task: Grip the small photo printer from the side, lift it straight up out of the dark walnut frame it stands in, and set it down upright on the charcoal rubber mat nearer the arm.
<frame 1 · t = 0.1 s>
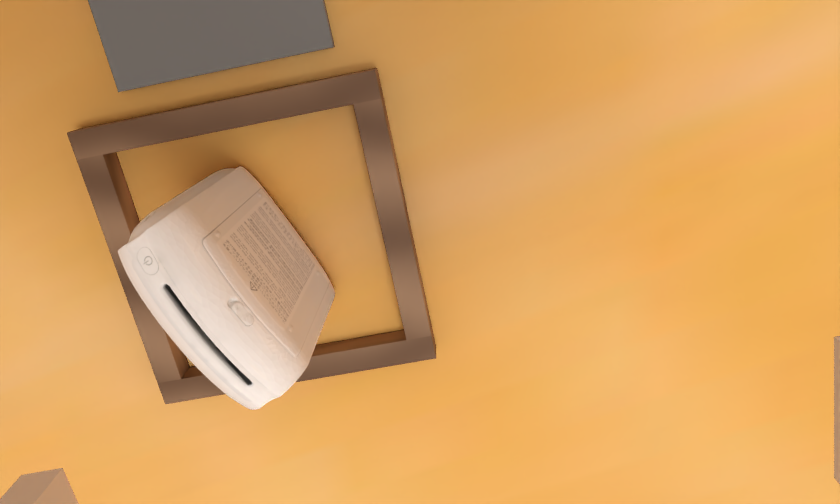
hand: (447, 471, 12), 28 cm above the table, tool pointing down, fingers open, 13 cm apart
walnut frame: (267, 243, 40), on the table
photo printer: (268, 241, 40), resting in walnut frame
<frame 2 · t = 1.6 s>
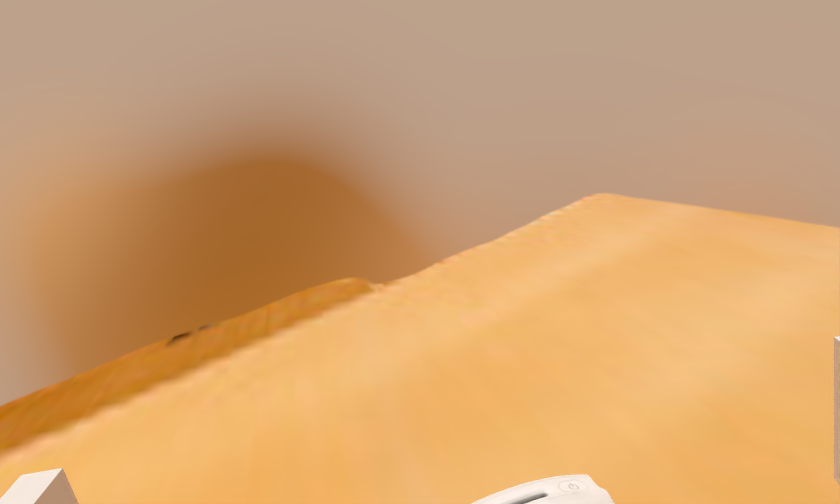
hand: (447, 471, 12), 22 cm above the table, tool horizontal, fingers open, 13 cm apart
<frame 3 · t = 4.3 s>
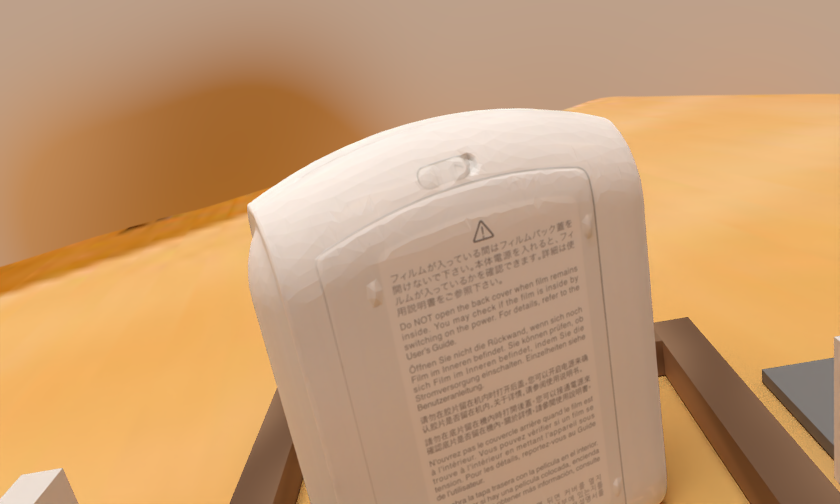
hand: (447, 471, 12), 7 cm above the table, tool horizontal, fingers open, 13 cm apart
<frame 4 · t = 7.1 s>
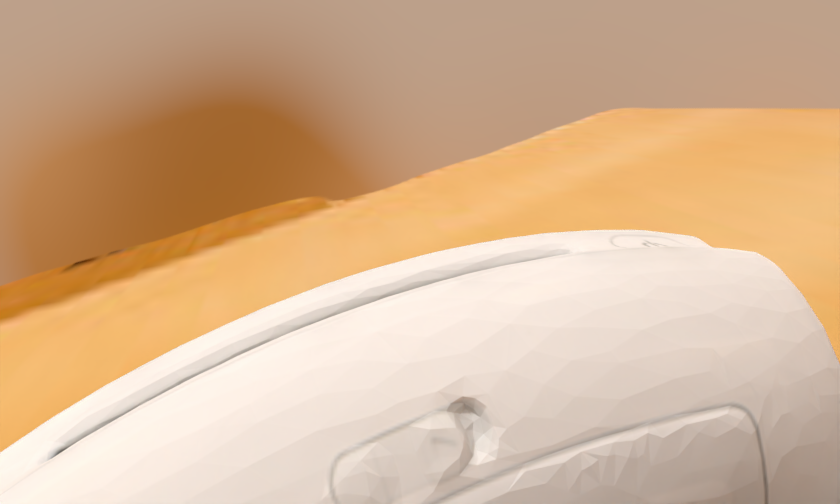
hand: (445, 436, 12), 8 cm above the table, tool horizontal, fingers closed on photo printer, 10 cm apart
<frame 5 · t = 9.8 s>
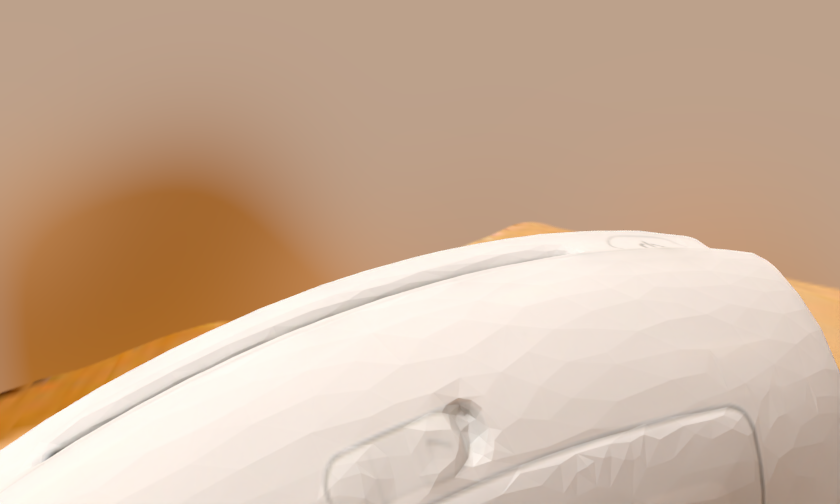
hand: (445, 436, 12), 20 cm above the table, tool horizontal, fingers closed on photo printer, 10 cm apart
when the fingers open (9 cm above the table, at t = 12.7 s): photo printer drops 1 cm, resting on rubber mat.
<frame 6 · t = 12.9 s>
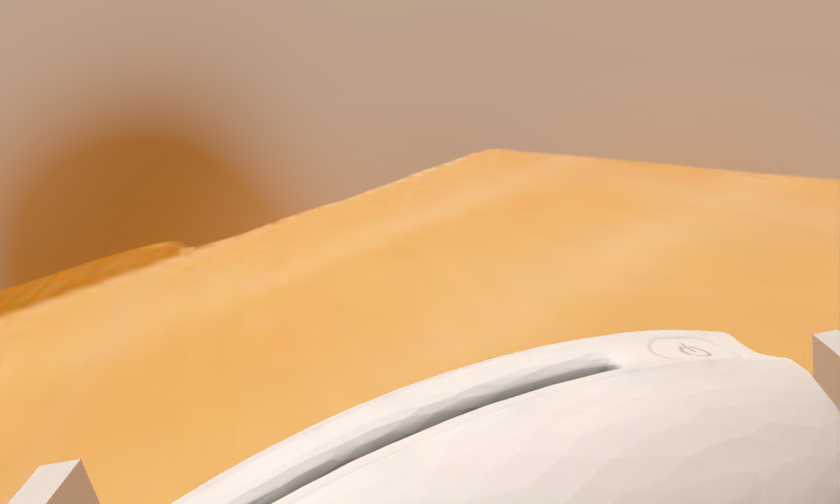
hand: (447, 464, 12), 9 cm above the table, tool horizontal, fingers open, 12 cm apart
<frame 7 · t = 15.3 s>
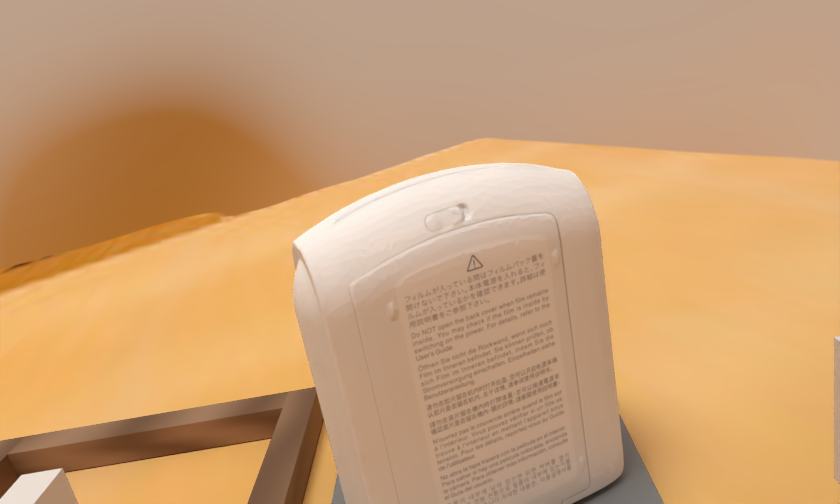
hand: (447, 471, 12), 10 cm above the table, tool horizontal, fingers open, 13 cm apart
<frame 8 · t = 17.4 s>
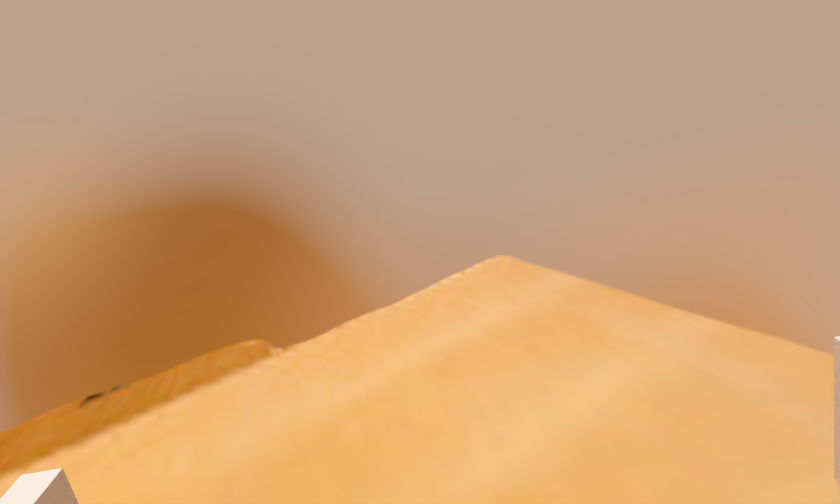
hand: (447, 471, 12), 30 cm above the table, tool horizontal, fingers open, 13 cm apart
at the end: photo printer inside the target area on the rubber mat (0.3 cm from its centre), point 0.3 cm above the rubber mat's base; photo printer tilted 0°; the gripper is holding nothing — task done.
